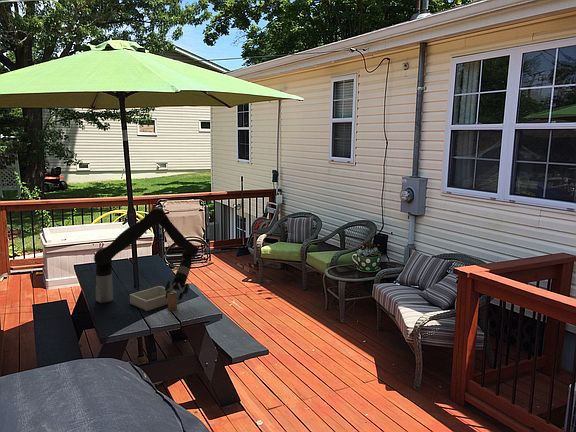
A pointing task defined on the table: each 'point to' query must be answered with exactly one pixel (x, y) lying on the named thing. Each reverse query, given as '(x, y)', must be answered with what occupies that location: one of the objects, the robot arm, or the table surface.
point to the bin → (150, 298)
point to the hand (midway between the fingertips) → (173, 298)
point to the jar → (172, 301)
